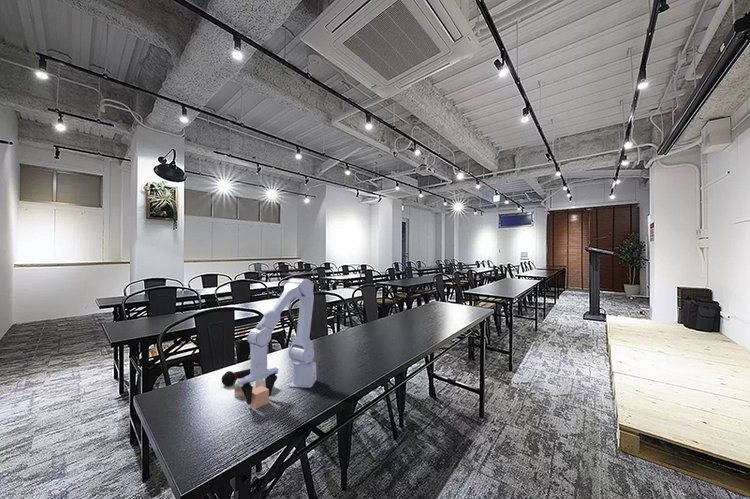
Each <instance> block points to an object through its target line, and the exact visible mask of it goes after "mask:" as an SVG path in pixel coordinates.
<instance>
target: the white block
mask: <svg viewBox="0 0 750 499" xmlns="http://www.w3.org/2000/svg"><path fill="white" fill-rule="evenodd" d="M259 386H264V387H265V388H266V383H265V379H259V380H257V381H255V388H257V387H259ZM274 388H275V385H274V386H273V388H272V389H274Z"/></svg>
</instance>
